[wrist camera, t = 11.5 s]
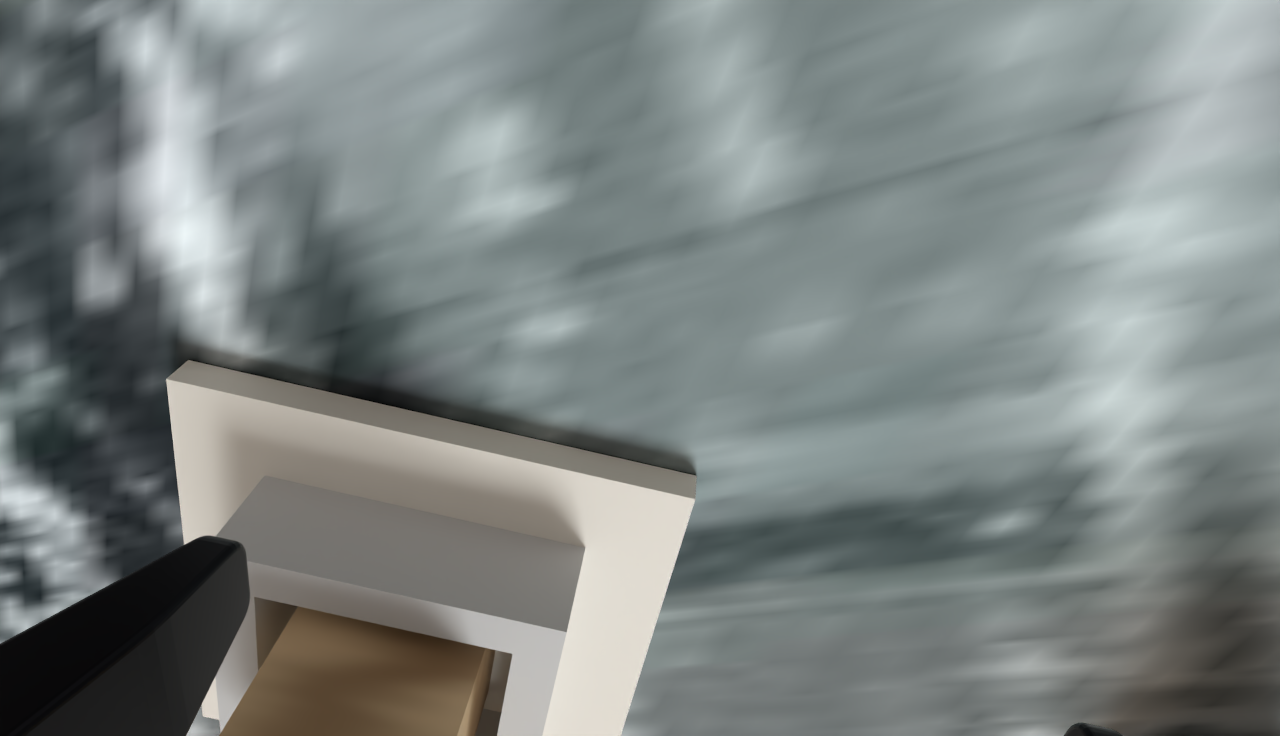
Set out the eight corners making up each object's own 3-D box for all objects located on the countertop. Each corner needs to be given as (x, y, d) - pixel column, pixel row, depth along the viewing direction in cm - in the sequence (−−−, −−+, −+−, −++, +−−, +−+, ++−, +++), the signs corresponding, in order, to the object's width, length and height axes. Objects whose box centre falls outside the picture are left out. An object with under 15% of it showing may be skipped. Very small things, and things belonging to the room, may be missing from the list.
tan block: (507, 580, 23) (424, 836, 17) (488, 691, 26) (409, 949, 20) (336, 542, 23) (189, 785, 17) (334, 657, 26) (205, 906, 20)
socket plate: (696, 475, 22) (690, 582, 19) (603, 776, 29) (585, 893, 26) (188, 359, 22) (86, 446, 18) (218, 691, 29) (149, 799, 26)
